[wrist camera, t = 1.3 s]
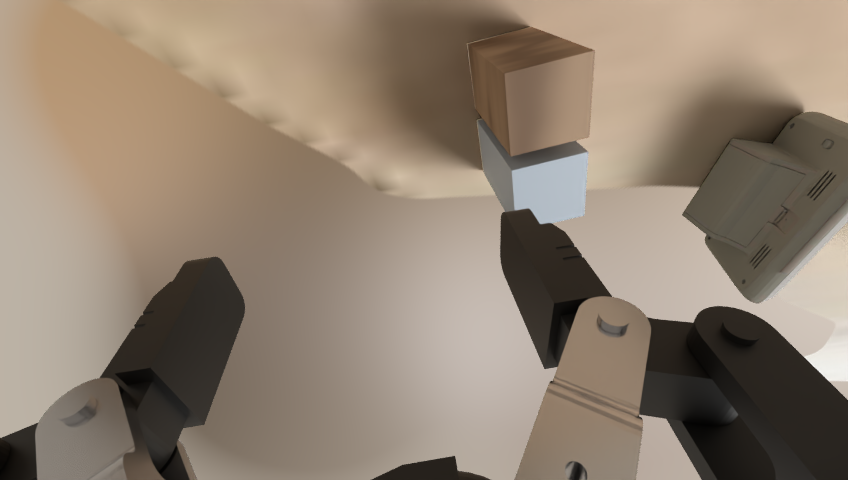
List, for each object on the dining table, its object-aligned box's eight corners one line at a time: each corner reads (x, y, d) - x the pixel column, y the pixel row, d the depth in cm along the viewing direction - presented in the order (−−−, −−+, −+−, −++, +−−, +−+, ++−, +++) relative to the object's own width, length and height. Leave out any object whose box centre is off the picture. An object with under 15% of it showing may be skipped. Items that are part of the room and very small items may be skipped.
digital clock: (707, 248, 45) (786, 314, 36) (650, 231, 42) (722, 298, 33) (831, 121, 36) (973, 168, 28) (770, 90, 34) (906, 132, 25)
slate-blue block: (533, 105, 32) (588, 151, 24) (534, 157, 35) (584, 215, 27) (476, 119, 32) (511, 170, 24) (482, 170, 35) (516, 231, 27)
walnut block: (530, 26, 28) (594, 50, 20) (532, 93, 31) (589, 137, 23) (466, 43, 28) (504, 73, 20) (474, 107, 31) (510, 156, 23)
